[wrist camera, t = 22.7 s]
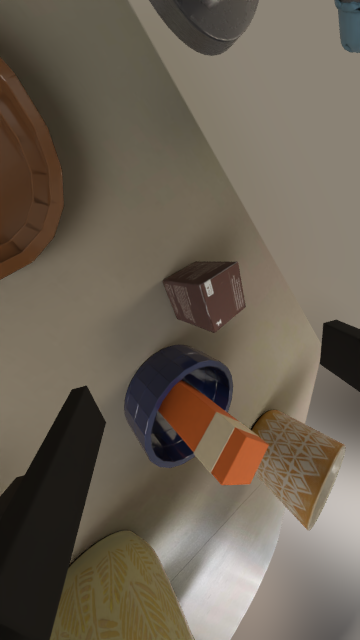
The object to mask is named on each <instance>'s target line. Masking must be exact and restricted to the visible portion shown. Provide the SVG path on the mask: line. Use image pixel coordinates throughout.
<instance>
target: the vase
mask: <svg viewBox="0 0 360 640" xmlns="http://www.w3.org/2000/svg"><path fill="white" fill-rule="evenodd" d="M50 640H194V638H193V635H192V633H191V630H190V628H189V625H188V623H187V620H186V618H185V615H184V613H183V610H182V608H181V606H180V603H179V601H178V599H177V596H176V594H175V592H174V589H173V587H172V585H171V583H170V580H169V578H168V576H167V574H166V572H165V570H164V568H163V565H162V563H161V561H160V559H159V558H158V556H157V554H156V553H155V551H154V550H153V548H152V547H151V546H150V545H149V544H148V543H147V542H146V541H145V540H144V539H142V538H141V537H140V536H138V535H137V534H135V533H134V532H132V531H120V532H116V533H114V534H111V535H109V536H107V537H106V538H104V539H102V540H101V541H99V542H97V543H96V544H95V545H93V546H92V547H91V548H89V549H88V550H87V551H86V552H85V553H83V554H82V555H81V556H80V557H79V558H78V559H77V560H76V561H75V562H74V563H73V564H72V565H71V566H70V567H69V568H68V571H67V575H66V579H65V583H64V587H63V591H62V594H61V598H60V602H59V606H58V610H57V614H56V618H55V622H54V625H53V629H52V633H51V637H50Z"/></svg>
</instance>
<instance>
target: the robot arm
mask: <svg viewBox="0 0 360 640" xmlns="http://www.w3.org/2000/svg"><path fill="white" fill-rule="evenodd" d="M335 5H336V7H337V8H338V14H339V27H340V39H341V44H342V46H343V47H344V49H345V50H347V51H349V52H356V53H360V0H335ZM320 364H321V365H322V366H324V367H325V368H326V369H328V370H329V371H331V372H332V373H334V374H335V375H337V376H338V377H339V378H341V379H342V380H344V381H345V382H346V383H348V384H349V385H351V386H352V387H354V388H355V389H357V390H358V391H359V392H360V329H358V328H355V327H353V326H350V325H348V324H345V323H343V322H340V321H338V320H334V321H330V322H326V323H324V324H323V335H322V346H321V358H320ZM105 424H106V422H105V420H104V418H103V416H102V414H101V412H100V410H99V409H98V407H97V405H96V403H95V401H94V399H93V397H92V395H91V393H90V391H89V389H88V387H87V386H83V387H80V388H76V389H72V390H71V392H70V394H69V396H68V398H67V399H66V401H65V403H64V405H63V407H62V409H61V410H60V412H59V414H58V416H57V418H56V419H55V421H54V423H53V425H52V427H51V428H50V430H49V432H48V434H47V436H46V438H45V439H44V441H43V443H42V445H41V447H40V448H39V450H38V452H37V454H36V456H35V457H34V459H33V461H32V463H31V465H30V467H29V468H28V470H27V472H26V474H25V475H24V476H20V477H17V478H16V479H15V480H14V481H13V482H12V483H11V484H10V486H9V487H8V488H7V489H6V490H5V491H4V493H3V494H2V495H1V496H0V640H50V637H51V633H52V629H53V625H54V622H55V618H56V614H57V610H58V606H59V602H60V598H61V594H62V591H63V587H64V583H65V579H66V575H67V571H68V567H69V563H70V560H71V556H72V552H73V548H74V544H75V540H76V536H77V532H78V529H79V525H80V521H81V517H82V513H83V509H84V505H85V501H86V497H87V494H88V490H89V486H90V482H91V478H92V474H93V470H94V466H95V463H96V459H97V455H98V451H99V447H100V443H101V439H102V435H103V432H104V428H105Z"/></svg>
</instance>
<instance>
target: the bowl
mask: <svg viewBox="0 0 360 640" xmlns="http://www.w3.org/2000/svg"><path fill="white" fill-rule="evenodd" d="M63 208H64V197H63V177H62V168H61V165H60V162H59V159H58V156H57V153H56V150H55V147H54V144H53V141H52V139H51V136H50V133H49V130H48V127H47V126H46V124H45V122H44V120H43V119H42V117H41V115H40V114H39V112H38V110H37V109H36V107H35V105H34V104H33V102H32V100H31V99H30V97H29V95H28V94H27V92H26V90H25V89H24V87H23V85H22V84H21V82H20V80H19V79H18V77H17V76H16V75H15V73H14V72H13V71H12V70H11V68H10V67H9V66H8V65H7V64H6V63H5V61H4V60H3V59H2V58H1V57H0V280H1V279H2V278H4V277H6V276H8V275H10V274H12V273H13V272H15V271H17V270H19V269H21V268H23V267H25V266H26V265H28V264H30V263H32V262H33V261H34V260H35V259H36V258H37V257H38V256H39V254H40V253H41V252H42V251H43V250H44V249H45V247H46V246H47V245H48V244H49V243H50V241H51V240H52V239H53V238H54V236H55V233H56V230H57V227H58V224H59V220H60V217H61V214H62V211H63Z"/></svg>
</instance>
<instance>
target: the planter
mask: <svg viewBox="0 0 360 640" xmlns="http://www.w3.org/2000/svg"><path fill="white" fill-rule="evenodd" d="M251 431H253V432H254V433H255V434H257V435H258V436H259V437H260V438H261V439H262V440H264V441H265V442H266V443H268V444H269V446H268V448H267V450H266V452H265V454H264V456H263V459H262V461H261V463H260V465H259V467H258V469H257V471H256V473H255V474H256V475H257V477H258V478H259V479H260V480H261V481H262V482H263V483H264V484H265V485H266V486H267V487H268V488H269V489H270V490H271V492H272V493H273V494H274V495H275V496H276V497H277V498H278V499H279V500H280V501H281V502H282V503H283V504H284V505H285V506H286V508H287V509H288V510H289V511H290V512H291V513H292V514H293V515H294V516H295V517H296V518H297V519H298V520H299V521H300V522H301V524H302V525H303V526H304V527H305V528H306V529H307V530H311V528H312V527H313V526H314V524H315V522H316V521H317V519H318V517H319V515H320V513H321V511H322V509H323V507H324V505H325V503H326V501H327V498H328V496H329V494H330V492H331V489H332V487H333V484H334V482H335V480H336V477H337V475H338V472H339V469H340V467H341V463H342V460H343V458H344V454H345V449H346V447H345V445H343V444H342V443H340V442H338V441H336V440H334V439H332V438H330V437H328V436H326V435H324V434H322V433H320V432H319V431H317V430H315V429H313V428H311V427H309V426H307V425H305V424H303V423H301V422H299V421H297V420H296V419H294V418H292V417H290V416H288V415H286V414H284V413H282V412H280V411H278V410H270V411H268V412H266V413H265V414H263V415H262V416H261V417H260V418H259V420H258V421H257V422H256V424H255V425H254V427H253V429H252V430H251Z"/></svg>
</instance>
